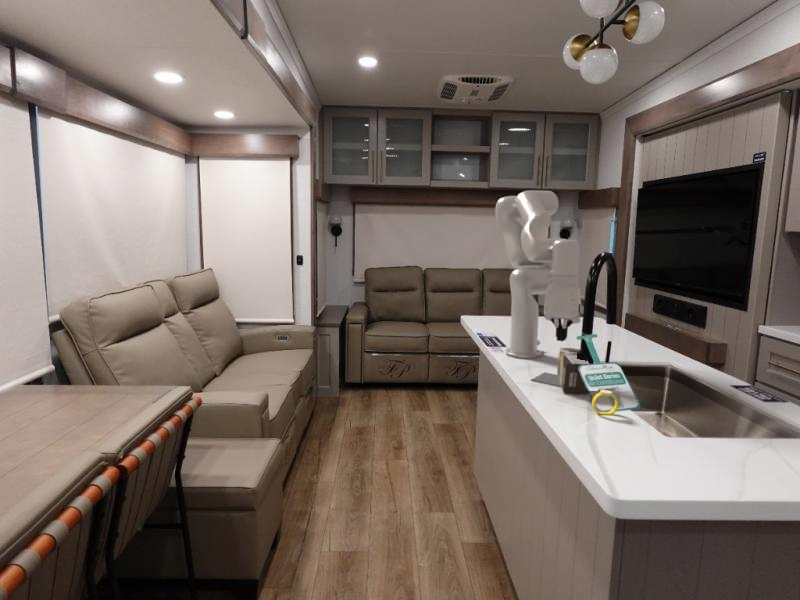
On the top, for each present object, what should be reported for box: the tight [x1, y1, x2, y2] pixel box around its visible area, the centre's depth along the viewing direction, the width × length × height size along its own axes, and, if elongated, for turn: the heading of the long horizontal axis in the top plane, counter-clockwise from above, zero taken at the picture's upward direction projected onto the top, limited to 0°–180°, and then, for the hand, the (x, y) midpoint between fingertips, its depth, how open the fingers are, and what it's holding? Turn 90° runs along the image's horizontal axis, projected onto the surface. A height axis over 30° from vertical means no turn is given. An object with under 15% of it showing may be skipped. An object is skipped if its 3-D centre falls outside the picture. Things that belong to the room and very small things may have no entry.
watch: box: [591, 389, 619, 416], centre depth 123 cm, size 6×3×6 cm, turn 87°
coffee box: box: [556, 347, 590, 396], centre depth 144 cm, size 9×6×16 cm
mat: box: [530, 372, 562, 388], centre depth 150 cm, size 10×10×1 cm
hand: (561, 340), depth 152 cm, fingers closed
